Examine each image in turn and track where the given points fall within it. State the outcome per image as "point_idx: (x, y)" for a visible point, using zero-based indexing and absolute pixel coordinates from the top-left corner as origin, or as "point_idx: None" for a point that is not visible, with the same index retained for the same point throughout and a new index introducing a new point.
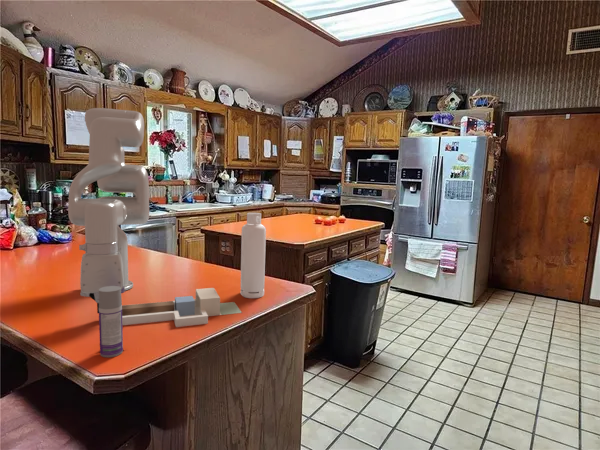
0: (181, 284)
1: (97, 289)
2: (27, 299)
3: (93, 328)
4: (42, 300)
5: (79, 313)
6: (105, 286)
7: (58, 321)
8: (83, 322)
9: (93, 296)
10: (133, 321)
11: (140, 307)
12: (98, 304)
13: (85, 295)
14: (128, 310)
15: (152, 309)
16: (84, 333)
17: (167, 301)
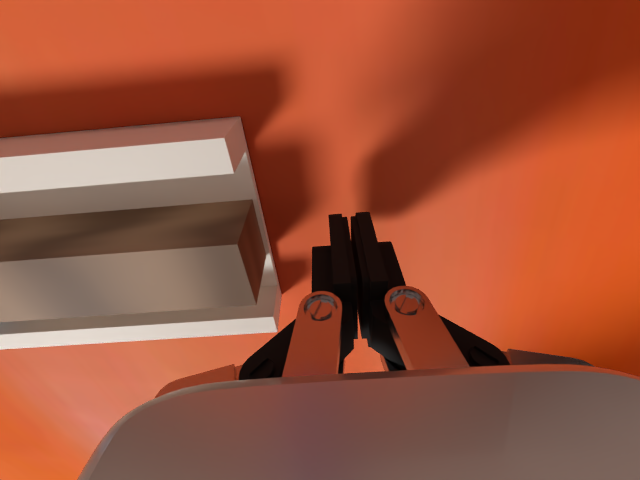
0: None
1: (468, 417)
2: None
3: (398, 129)
4: None
5: (456, 324)
6: (346, 476)
7: (556, 261)
8: (448, 230)
9: (458, 347)
10: (136, 134)
11: (97, 257)
12: (395, 284)
13: (540, 361)
14: (184, 240)
15: (30, 246)
16: (458, 41)
17: (35, 346)
